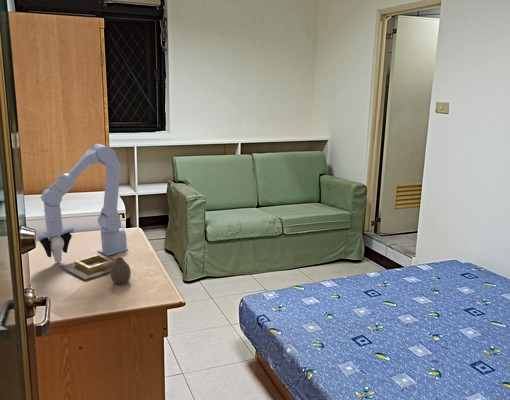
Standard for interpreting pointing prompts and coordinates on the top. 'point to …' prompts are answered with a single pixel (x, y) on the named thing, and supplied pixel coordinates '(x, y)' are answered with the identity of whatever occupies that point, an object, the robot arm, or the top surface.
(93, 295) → the top surface
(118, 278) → the vase
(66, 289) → the top surface
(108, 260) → the socket collar
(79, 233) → the top surface
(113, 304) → the top surface
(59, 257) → the white light bulb
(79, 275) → the lamp base
